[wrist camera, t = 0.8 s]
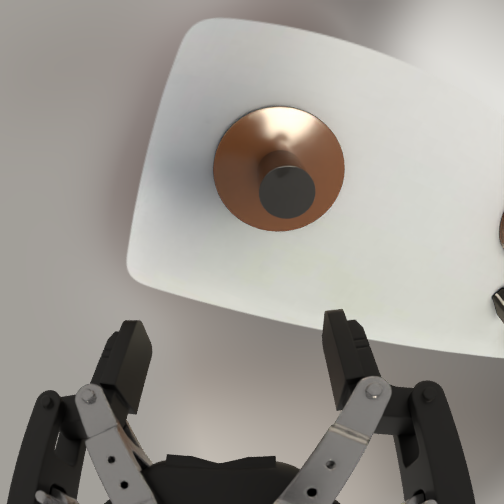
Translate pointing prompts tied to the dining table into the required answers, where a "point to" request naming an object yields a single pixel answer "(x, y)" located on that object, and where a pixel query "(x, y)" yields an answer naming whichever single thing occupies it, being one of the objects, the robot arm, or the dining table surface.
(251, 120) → the crock lid
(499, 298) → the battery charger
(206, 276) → the dining table surface
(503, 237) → the crock
